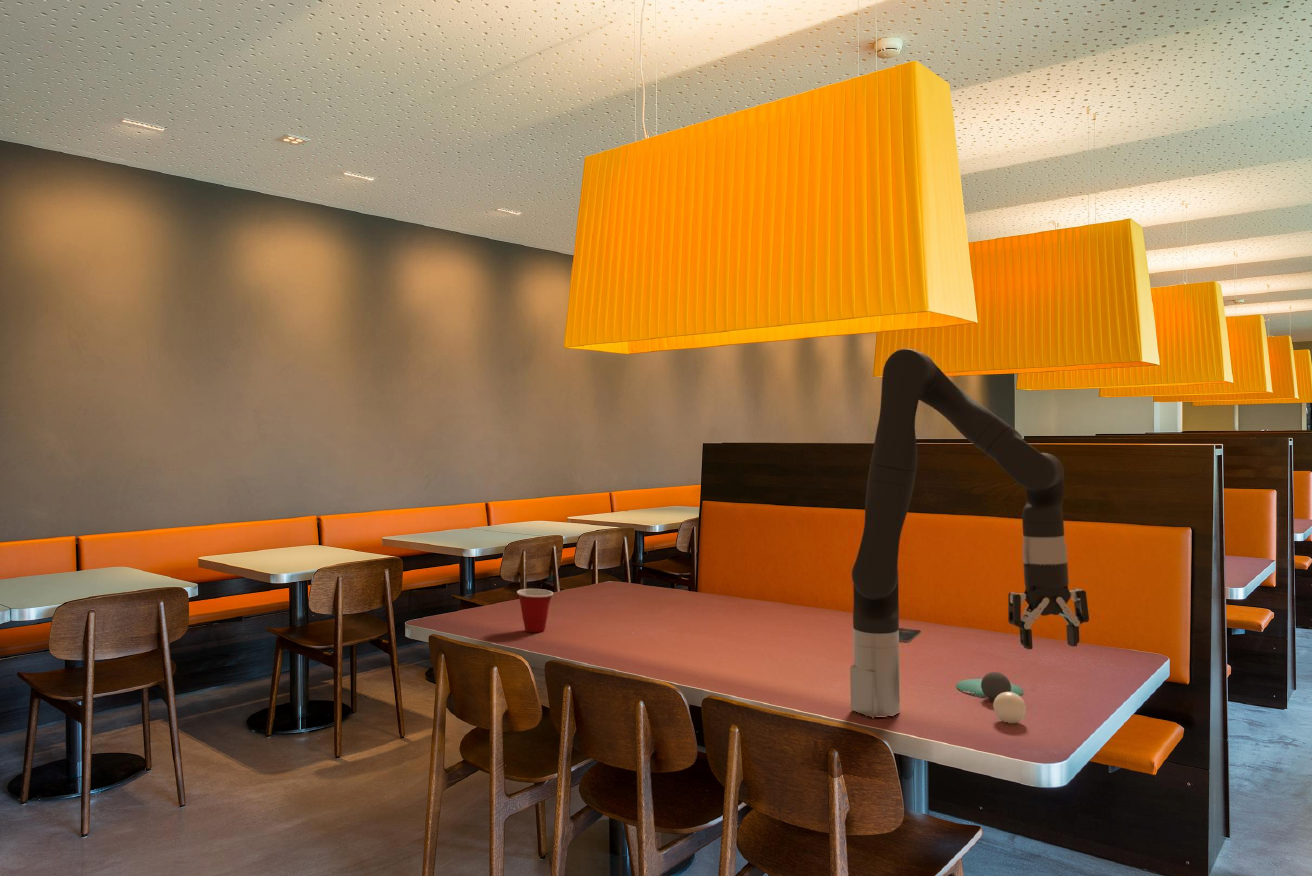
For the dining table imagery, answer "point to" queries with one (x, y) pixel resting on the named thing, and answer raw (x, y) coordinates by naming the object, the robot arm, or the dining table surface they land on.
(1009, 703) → the cue ball
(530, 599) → the plastic cup
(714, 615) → the dining table surface
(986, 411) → the robot arm
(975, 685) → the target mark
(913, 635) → the smartphone
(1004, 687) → the object ball
